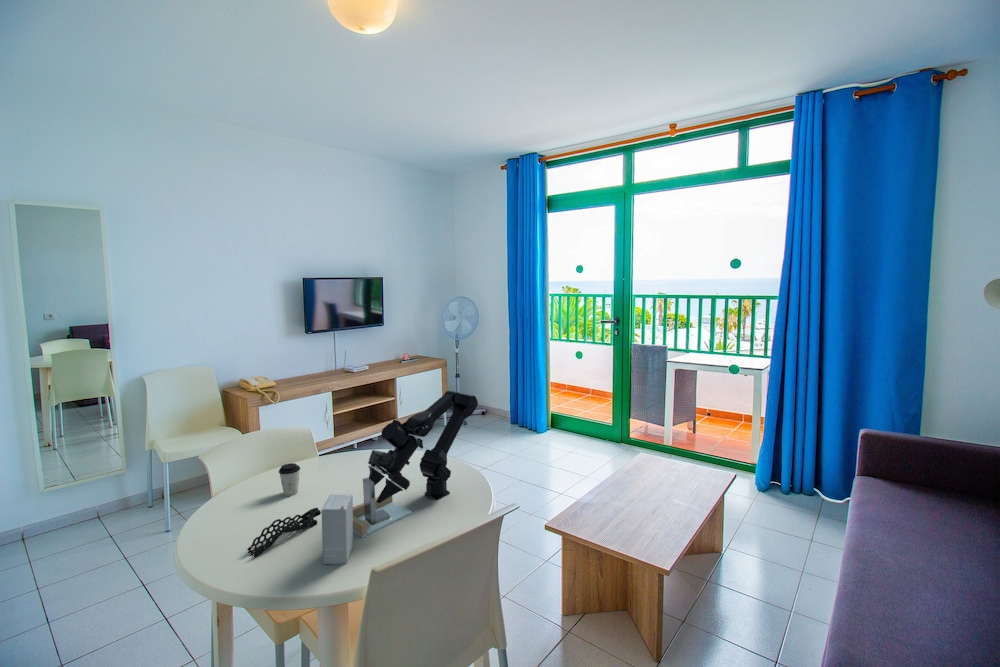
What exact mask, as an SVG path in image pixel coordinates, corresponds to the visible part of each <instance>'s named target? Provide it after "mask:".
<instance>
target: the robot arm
mask: <svg viewBox="0 0 1000 667" xmlns="http://www.w3.org/2000/svg"><path fill="white" fill-rule="evenodd" d="M478 403H479V402H478V399H477V397H476V396H475V395H473V394H466V393H460V392H458V391H453V390H447V391H445V392H444V394H443V395H442V396H441V397H439V398H438V399H437V400H436V401H434V403H432V404H431V405H430V406H429V407H428V408H427V409H425V410H423V411H422V412H418V413H415V414H413V415H412V416H409V418H408V419H407V420H406V421H405V422H403V423H401V422H400V420H397V419H393V420H392V422H390V423H388V424H387V425H386V426H384V427H383V428H382V430H381V432H380V434H381V438H382V439H383V440H384V441H385V442H387V443H388V444H390V445H391V446H393V447H394V449H393V450H392V449H389V450H388V451H387V452H384V451H379V450H375V449H372V450H371V453H370V456H369V459H368V462H367V464H369V465H368V468H369V475H368V478H369V479H370V480H371V481H373V482H374V486H375V487H376V486H377V485H378V484H379V483H380V481H382V480H383V479H385V485H384V487H383V489H382V491H381V492H380V494H379V496H377V497H378V499H377V501H376V502H377V503H381V502H382V501H384V500H386V499H387V498H389V497H390V496H392V497H393V496H394V495H396V494H398V493H399V492H403V491H404V490H405V491H407V490H408V489H409V487H410V484H411V482H410V480H409V479H408V478H406V477H405V476H404V475H403V473H402V470H403V469H404V467H405V466H406V465H407V466H409V465H410V464H411V462H410V461H409V460H410V459H411V457H412V456H413V454H414V453H415V452H416V450H417V449H418V448H419V449H423V448H424V442H423V439H421V438H419V437H422V438H424V437H427V436H428V434H429V433H430V432H431V431H432V430H433V428H434V423H435V422H436V421H437V420H438V419H440V418H441V417H442V416H443V415H444V414H445V413H446V412H448V411H449V409H451V408H452V413H451V415H450V416H449V419H448V421H447V423H446V425H445V426H444V429H443V431H442V432H441V434H440V436H439V438H438V440H437V442H436V443H435V445H434V447H433V448H431V449H428V448H427V449H425V451H424V454H423V455H422V457H421V458H420V462H419V469H420V470H419V471H420V472H421V474H422V476H423V477H424V478H426V484H425V486H426V487H425V489H426V490H425V492H424V493H423V494H425V495H424V496H427V497H429V498H432V499H433V500H439V499H441V498H444V497H445V496H447V495H449V494H451V492H450V491H449V490H448V489H447V486H448V485H447V481H448V479H450V478H451V474H452V470H450V469H449V468H448V467H447V464H448V452H449V451H450V449H451V447H452V446H453V443H454V441H455V439H456V437H457V435H458V434H459V432H460V430H461V427H462V425H463V423H464V422H465V420H466V419H467V418H468V417H470V416H472V415H473V413H474V412H475V411H476V409H477V407H478ZM416 436H418V438H416ZM385 475H387V477H386V476H385ZM448 493H449V494H448ZM446 494H447V495H446ZM444 495H445V496H444Z"/></svg>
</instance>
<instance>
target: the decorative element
mask: <svg viewBox="0 0 1000 667" xmlns="http://www.w3.org/2000/svg"><path fill="white" fill-rule="evenodd" d="M320 515H322V511H321V510H320V509H319V508H318V507H314V508H311V509H309V510H307V511H306V512H305V513H302V514H296V515H295V516H294V517H290V516H287V517H285V518H283V519H280V518H277V519H275V520H273V521H272V522H271V524H270V525H269V526H266V527H264V528H263V529H262V531H261V533H260V535H259V536H256V537H255V538H254V539H253V541H252V544H251V545H250V546H249V547H247V549H246V550H247V554H249V556H250V555H252V557H253V556H254V557H255V558H256V557H257V556H259V554H260V555H261V554H263V553H264V552H265V551H266V550H267V549H269V548H270V547H271V546H272V545H273V544H274V543H275V542H276V541H277V540H278V539H279V538H280V537H281V536H282V535H283V534H285V533H292V532H297V531H302V530H304V529H307V528H309V527H313V526H314V527H315V526H317V525H318V520H317V519H314V518H317V517H319V516H320ZM296 518H297V519H296ZM277 522H278V523H277ZM275 523H276V524H275ZM281 523H282V525H281ZM271 528H272V530H270V529H271ZM265 531H266V532H265ZM268 534H270V535H269V536H268V537H267V535H268ZM262 537H263V539H262ZM261 539H262V540H261ZM259 544H260V545H259ZM258 545H259V546H258ZM253 554H254V555H253ZM254 557H253V558H254Z"/></svg>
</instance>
